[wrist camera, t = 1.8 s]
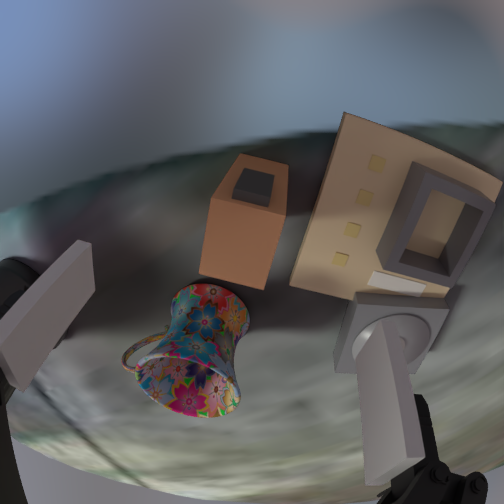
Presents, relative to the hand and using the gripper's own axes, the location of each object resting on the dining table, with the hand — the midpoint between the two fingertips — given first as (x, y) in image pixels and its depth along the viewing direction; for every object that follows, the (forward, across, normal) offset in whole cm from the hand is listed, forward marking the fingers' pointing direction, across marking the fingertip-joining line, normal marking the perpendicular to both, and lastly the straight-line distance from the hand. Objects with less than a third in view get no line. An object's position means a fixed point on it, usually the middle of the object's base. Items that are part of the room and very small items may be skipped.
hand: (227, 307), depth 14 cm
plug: (+15, 0, 0) cm, 15 cm away
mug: (+15, -4, -15) cm, 22 cm away
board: (+15, +12, 0) cm, 20 cm away
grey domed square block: (+15, +16, -11) cm, 25 cm away
